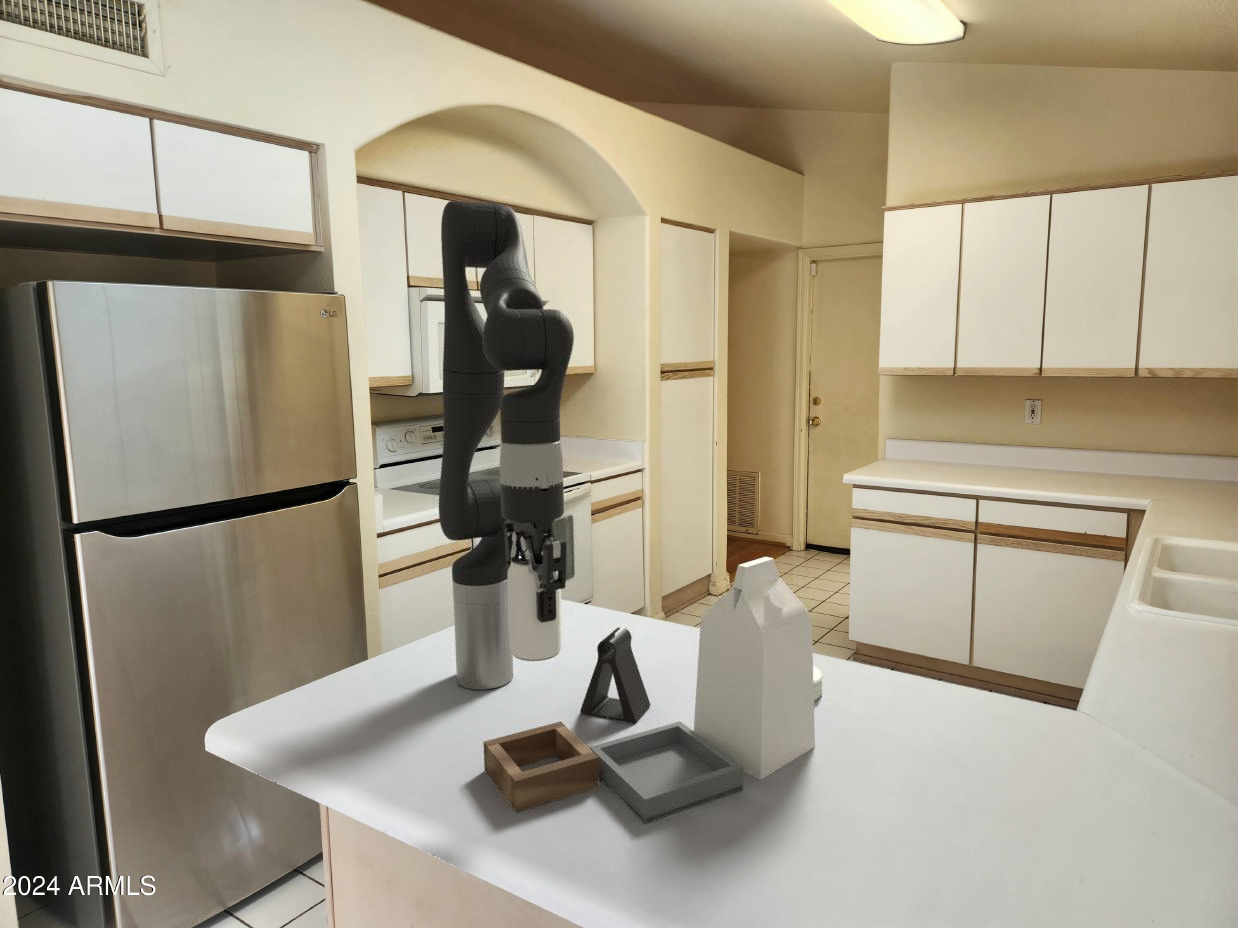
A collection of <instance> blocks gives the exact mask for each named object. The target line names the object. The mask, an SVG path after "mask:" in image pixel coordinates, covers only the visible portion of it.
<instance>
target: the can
mask: <svg viewBox="0 0 1238 928" xmlns="http://www.w3.org/2000/svg"><path fill="white" fill-rule="evenodd" d="M519 556H521V554H519ZM537 565H543V563H537ZM556 573H557V578H558V571H556ZM541 576H542V572H541ZM536 592H537V589H536V584H535V579H534V575H532V574H530V573H529V570H528V565H527V560H523V559H522V557H521V558H518V559H515V558H514V556H513V557H512V558H511V565H510V567H509V569H508V610H509V639H510V652H511V653H512V654H513V658H516V659H519V660H520V661H525V662H538V661H539V662H540V661H546V660H550V659H552V658H555V657H557V656H558V655H559V653H560V652H562V648H563V647H562V646H563V637H562V636H563V634H562V632H563V631H562V630H563V629H562V628H563V627H562V623H563V622H562V589H558V590H556V619H555V620H553V621H548V622H543V623H542V622H540V621H539V620H538V619H537V595H536Z"/></svg>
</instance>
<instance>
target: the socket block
mask: <svg viewBox="0 0 1238 928" xmlns="http://www.w3.org/2000/svg"><path fill="white" fill-rule="evenodd" d="M482 742H483V762H484V763H483V766H484V772H485V773H486V774H487V776H488V777H489V778H490V780H491V782H493V784H494V785H495V787H496V788H497V789H498V791H499V792H500V793H501V794H502V796H503V797H504V799H506V801H507V802H508V804H509V805H510V806H511V807H512V808H513V810H514V812H515V813H516V814H517V813H520V812H523V811H526V810H530V809H533V808H536V807H539V806H542V805H546V804H549V803H552V802H556V801H559V800H563V799H565V798H569V797H572V796H575V795H577V794H582V793H585V792H588V791H591V790H594V789H597V788H600V778H599V757H598V756H597V755H596V754H595V753H594V752H593V751H592V750H591V749H590V748H589V747H588V745H587V744H585V743H584V742H583V740H581V739H580V738H579V737H578V736H577V735H576V734H575V733H574V732H573V731H572V730H571V729H570V728H568V727H567V726H566V724H565V723H563V722H562V721H561V720H560V721H557V722H554V723H550V724H545V725H542V726H538V727H534V728H530V729H526V730H522V731H519V732H515V733H511V734H507V735H504V736H500V737H496V738H492V739H489V740H484V741H482ZM552 758H557V759H558V760H559V761H556V762H553V763H549V764H546V765H542V766H539V767H535V768H532V769H528V770H524V771H522V769H521V767H525V766H527V765H531V764H535V763H538V762H541V761H546V760H549V759H552Z"/></svg>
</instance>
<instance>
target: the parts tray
mask: <svg viewBox="0 0 1238 928" xmlns="http://www.w3.org/2000/svg"><path fill="white" fill-rule="evenodd" d="M588 748H590V749H591V750H592V751H593V752H594V753H595V754H596V755H597V756H598V757H599V780H601V781H602V782H603V783H604V784H605V785H606V787H608V788H609V789H610V790H611V791H612V792H613V793H614V794H615V796H617V798H619V799H620V800H621V801H622V802H623V803H624V804H625V805H626V806H627V807H628V808H629V809H630V811H632V813H634V814H635V815H636V816H637V817H638V818H639V819H640V820H641V821H642V822H643V823H644V824H648V823H651V822H654V821H657V820H660V819H662V818H666V817H668V816H671V815H675V814H677V813H679V812H683V811H685V810H689V809H691V808H694V807H697V806H698V807H699V806H700V805H703V804H706V803H710V802H711V801H715V800H717V799H720V798H723V797H726V796H729V795H732V794H735V793H737V792H741V791H743V790H744V787H743V786H744V784H743V783H744V774H743V773H744V771H743V767H742V766H741V765H739V764H738V763H737V762H735V761H734V760H732V759H731V758H730V757H728V756H727V755H726V754H724V753H723V752H721V751H720V750H719V749H717V748H716V747H715V746H713V745H712V744H710V743H709V742H708V741H706V740H705V739H704V738H702V737H701V736H699V735H698V734H697V733H695V732H694V729H691V728H690V727H689V726H688V725H686V724H685V723H683V722H682V721H677V722H673V723H669V724H666V725H663V726H659V727H655V728H651V729H648V730H645V731H641V732H637V733H634V734H630V735H627V736H623V737H619V738H617V739H611V740H609V741H606V742H602V743H597V744H596V745H591V746H589V747H588Z"/></svg>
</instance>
